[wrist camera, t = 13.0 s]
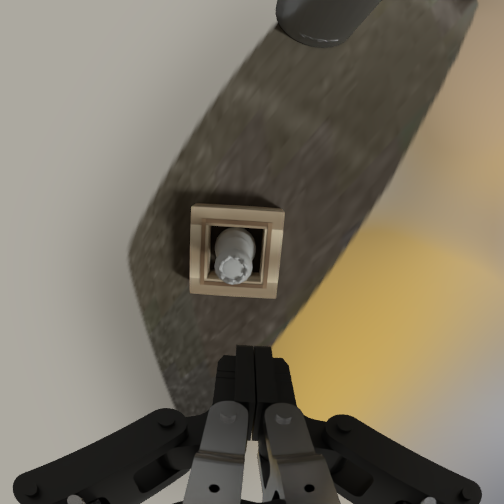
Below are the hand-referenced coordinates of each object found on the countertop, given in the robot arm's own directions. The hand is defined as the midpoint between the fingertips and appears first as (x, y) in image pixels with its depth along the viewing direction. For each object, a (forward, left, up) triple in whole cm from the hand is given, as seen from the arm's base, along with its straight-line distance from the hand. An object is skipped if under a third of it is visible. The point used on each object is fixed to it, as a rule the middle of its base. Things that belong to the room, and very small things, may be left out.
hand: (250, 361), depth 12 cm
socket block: (0, -1, -21) cm, 21 cm away
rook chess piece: (0, -1, -21) cm, 21 cm away
